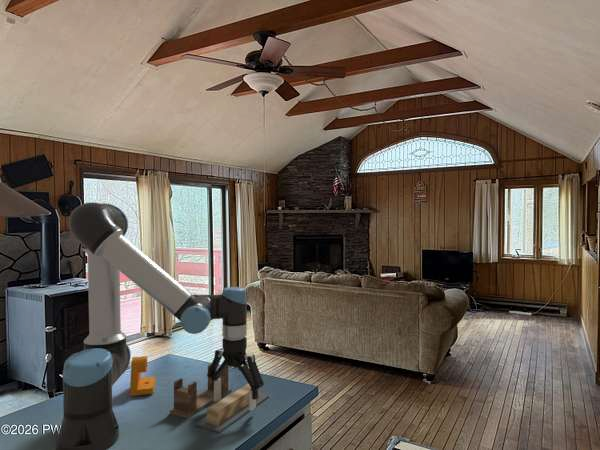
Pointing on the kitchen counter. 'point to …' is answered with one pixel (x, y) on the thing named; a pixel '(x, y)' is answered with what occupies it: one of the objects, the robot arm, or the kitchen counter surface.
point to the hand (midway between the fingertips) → (234, 404)
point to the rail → (229, 405)
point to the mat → (231, 419)
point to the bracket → (196, 396)
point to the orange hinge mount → (137, 383)
